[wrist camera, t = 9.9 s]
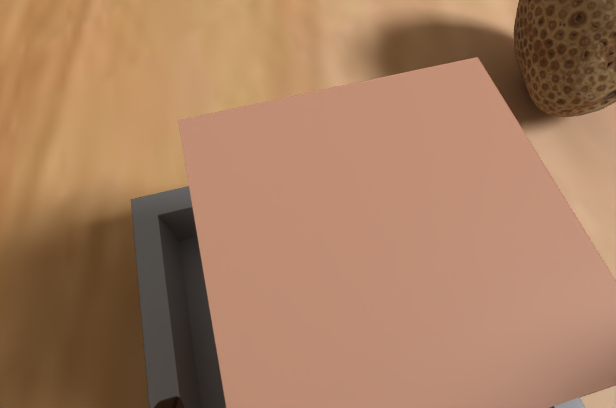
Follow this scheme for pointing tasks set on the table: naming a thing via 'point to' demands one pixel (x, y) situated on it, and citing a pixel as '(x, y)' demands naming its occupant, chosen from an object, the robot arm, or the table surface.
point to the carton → (394, 251)
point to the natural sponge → (567, 54)
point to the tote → (180, 304)
